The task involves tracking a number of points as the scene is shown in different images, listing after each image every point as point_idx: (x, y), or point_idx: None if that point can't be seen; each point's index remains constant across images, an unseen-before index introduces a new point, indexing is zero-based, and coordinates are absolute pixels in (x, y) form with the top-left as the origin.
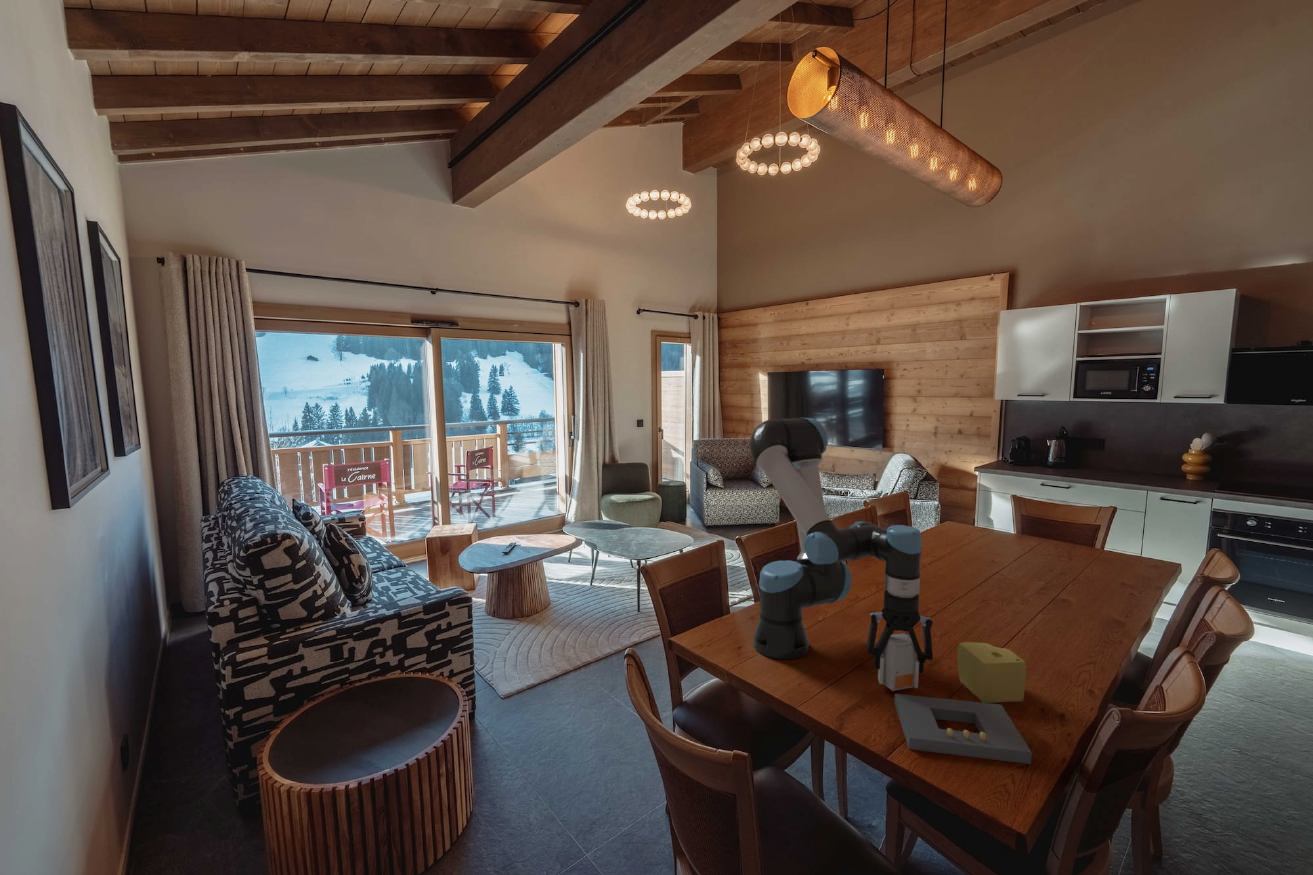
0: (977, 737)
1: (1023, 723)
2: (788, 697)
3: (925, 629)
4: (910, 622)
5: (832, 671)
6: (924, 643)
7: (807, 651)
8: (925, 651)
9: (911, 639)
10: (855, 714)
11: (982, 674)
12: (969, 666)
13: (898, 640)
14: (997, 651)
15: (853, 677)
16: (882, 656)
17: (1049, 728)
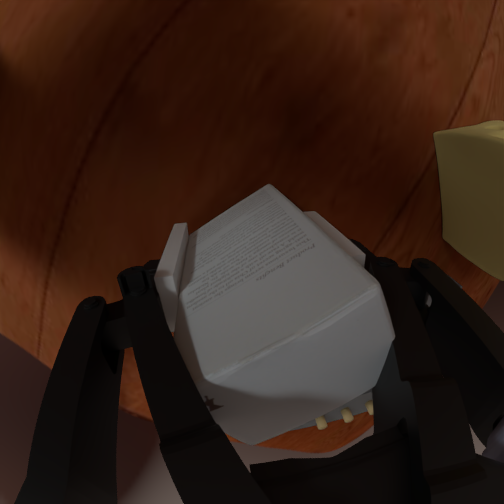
0: (364, 401)
1: (462, 286)
2: (12, 333)
3: (478, 432)
4: None
5: (40, 179)
6: (441, 309)
7: None
8: (418, 280)
9: (373, 407)
10: (137, 368)
11: (491, 262)
12: (488, 198)
13: (280, 416)
14: None
15: (98, 193)
16: (176, 311)
17: (481, 286)
